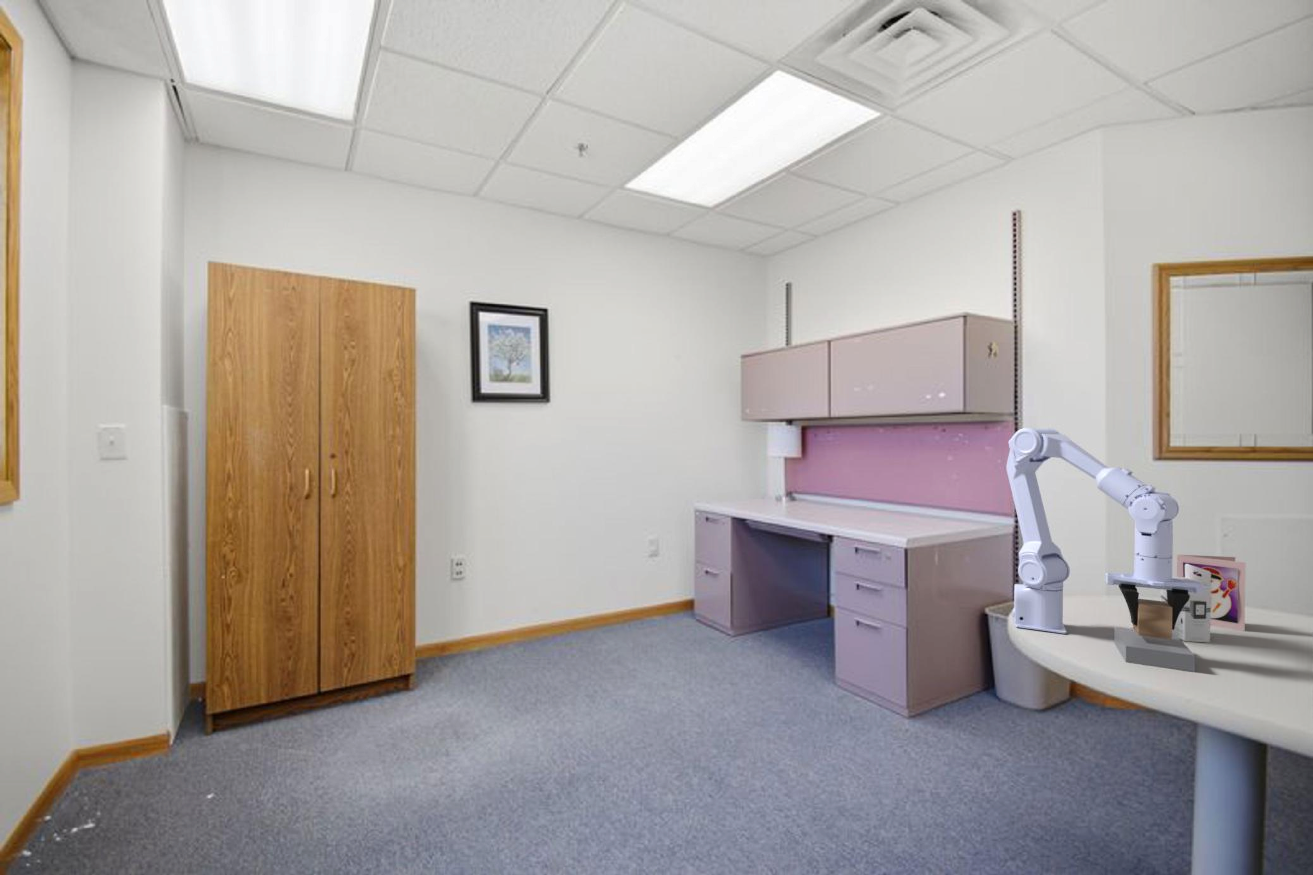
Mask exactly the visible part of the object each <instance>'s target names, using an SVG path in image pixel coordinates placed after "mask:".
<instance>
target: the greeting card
mask: <svg viewBox="0 0 1313 875" xmlns="http://www.w3.org/2000/svg"><path fill="white" fill-rule="evenodd" d="M1185 564H1189V565H1192V566H1195V567H1198V568H1201V569H1204V570H1207V571H1210V573H1211V617H1210V626H1213V627H1217V628H1218V627H1219V628H1225V629H1229V630H1236V631H1242V632H1245V631H1246V630H1245V627H1246V626H1245V625H1246V620H1245V619H1246V618H1245V616H1246V562H1243V561H1236V556H1217V555H1216V556H1215V555H1194V554H1192V555H1191V554H1177V555H1176V577H1185ZM1194 575H1197V576H1200V577H1202V575H1201V574H1200V573H1198V572H1194Z"/></svg>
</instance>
